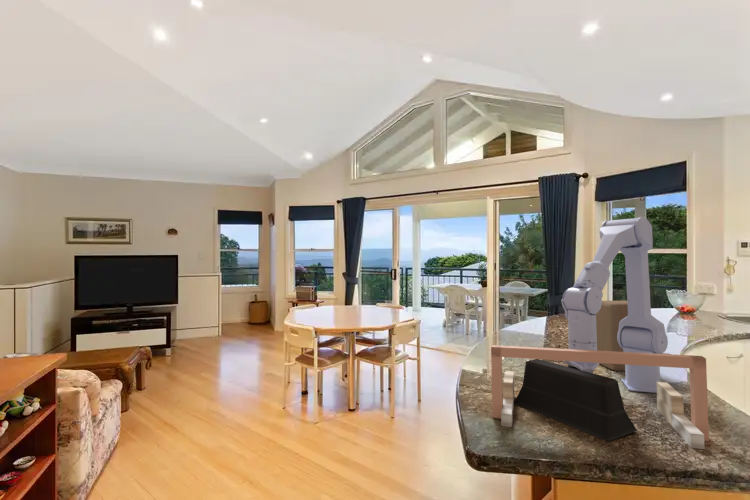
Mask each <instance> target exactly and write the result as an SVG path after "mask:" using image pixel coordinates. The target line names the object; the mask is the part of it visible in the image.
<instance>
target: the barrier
mask: <svg viewBox="0 0 750 500" xmlns="http://www.w3.org/2000/svg"><path fill="white" fill-rule="evenodd" d="M522 379H523V380H522V386H521V387H520V390H519V392H518V394H517V396H516V398H515V399H514V405H516V406H518V407H521V408H522V409H526V410H528V411H530V412H533V413H535V414H538V415H541V416H543V417H546V418H548V419H551V420H552V421H554V422H555V421H556V422H557V423H561V424H562V425H565V426H567V427H570V428H572V429H575V430H577V431H580V432H582V433H583V434H584V433H585V434H587V435H590V436H592V437H595V438H597V439H599V440H601V441H604V442H606V443H608V442H610V441H614V440H616V439H619V438H621V437H624V436H627V435H629V434H631V433H634V432H637V431H638V429H637V427H636V426H635V424H634V422H633V421H632V419H631V418H630V416H629V415H628V413H627V411H626V410H625V406H624V403H623V398H622V394H621V390H620V386H619V382H618V380H617V379H616V378H612V377H608V376H604V375H600V374H597V373H594V372H593V373H589V372H585V371H582V370H578V369H574V368H570V367H568V366H567V365H566V366H565V365H562V364H558V363H554V362H550V361H547V360H544V359H530V360H529V359H528V360H526V361H525V367H524V372H523V378H522Z"/></svg>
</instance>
